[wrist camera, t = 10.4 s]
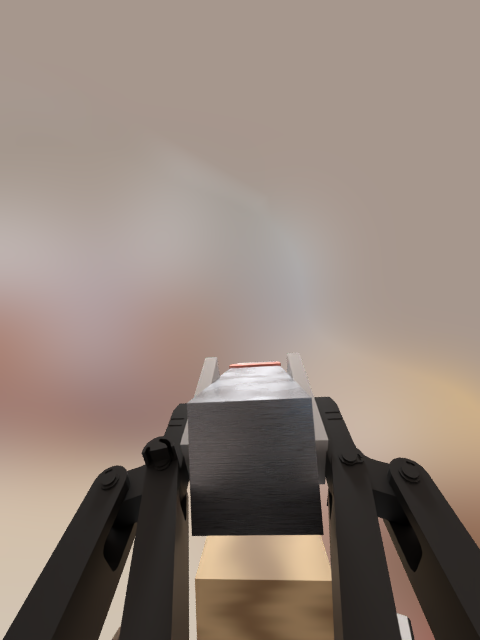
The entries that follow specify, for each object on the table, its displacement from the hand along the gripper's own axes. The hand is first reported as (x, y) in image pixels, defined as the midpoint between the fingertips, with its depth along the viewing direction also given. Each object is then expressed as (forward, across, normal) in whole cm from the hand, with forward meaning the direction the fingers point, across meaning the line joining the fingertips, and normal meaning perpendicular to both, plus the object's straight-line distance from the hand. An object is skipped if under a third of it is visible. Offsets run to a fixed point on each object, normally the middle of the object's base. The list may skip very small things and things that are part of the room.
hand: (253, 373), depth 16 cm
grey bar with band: (0, 0, -5) cm, 5 cm away
